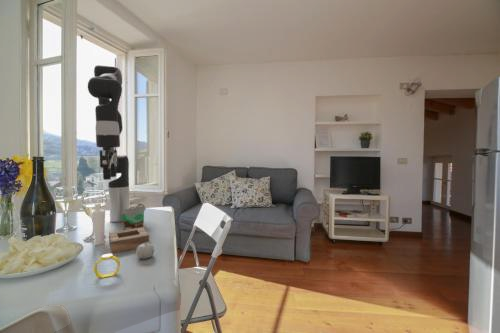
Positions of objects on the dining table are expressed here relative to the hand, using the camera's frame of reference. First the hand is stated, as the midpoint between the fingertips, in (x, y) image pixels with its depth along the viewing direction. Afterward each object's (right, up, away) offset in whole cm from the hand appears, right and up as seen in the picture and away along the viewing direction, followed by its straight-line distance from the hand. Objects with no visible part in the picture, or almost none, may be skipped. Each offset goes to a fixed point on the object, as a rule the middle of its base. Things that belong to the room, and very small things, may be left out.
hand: (110, 178), depth 90 cm
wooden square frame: (+7, -25, 0) cm, 26 cm away
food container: (+1, -24, +20) cm, 31 cm away
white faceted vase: (-5, -25, +2) cm, 26 cm away
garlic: (+18, -25, -12) cm, 33 cm away
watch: (+13, -26, -24) cm, 37 cm away
